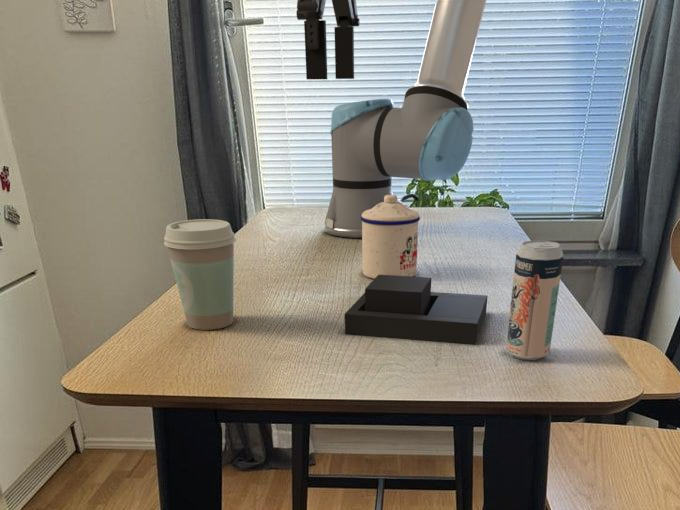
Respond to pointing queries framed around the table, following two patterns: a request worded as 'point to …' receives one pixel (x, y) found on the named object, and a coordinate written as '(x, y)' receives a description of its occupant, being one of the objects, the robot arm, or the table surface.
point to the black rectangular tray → (424, 320)
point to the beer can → (534, 299)
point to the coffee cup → (203, 270)
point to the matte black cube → (399, 295)
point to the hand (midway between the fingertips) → (331, 79)
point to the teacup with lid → (389, 239)
